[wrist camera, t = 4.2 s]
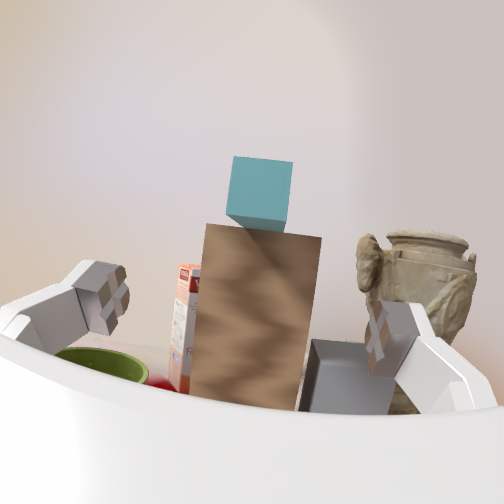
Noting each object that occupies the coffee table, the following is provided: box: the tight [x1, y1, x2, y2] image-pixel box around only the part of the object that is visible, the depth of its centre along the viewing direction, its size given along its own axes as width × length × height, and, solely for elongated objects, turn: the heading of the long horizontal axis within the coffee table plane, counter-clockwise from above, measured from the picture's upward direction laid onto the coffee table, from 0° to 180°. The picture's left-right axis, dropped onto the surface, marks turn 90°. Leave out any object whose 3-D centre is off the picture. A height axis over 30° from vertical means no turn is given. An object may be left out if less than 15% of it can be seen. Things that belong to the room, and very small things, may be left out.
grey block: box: [298, 339, 397, 415], centre depth 28 cm, size 7×8×16 cm
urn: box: [356, 229, 477, 415], centre depth 44 cm, size 24×18×30 cm
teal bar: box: [226, 156, 293, 232], centre depth 29 cm, size 3×26×3 cm, turn 175°
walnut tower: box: [189, 224, 322, 411], centre depth 31 cm, size 9×12×26 cm
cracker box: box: [169, 264, 201, 394], centre depth 52 cm, size 14×6×21 cm, turn 123°
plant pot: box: [54, 347, 149, 384], centre depth 27 cm, size 12×12×11 cm
